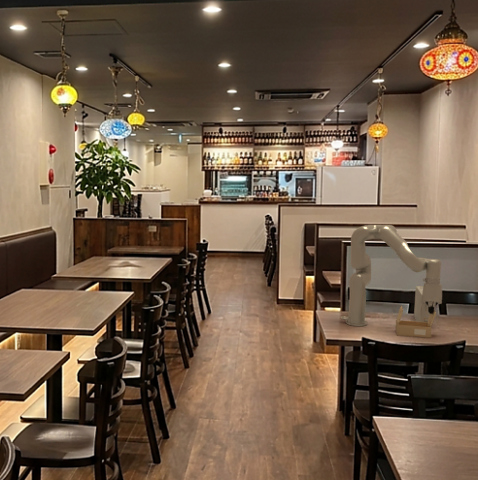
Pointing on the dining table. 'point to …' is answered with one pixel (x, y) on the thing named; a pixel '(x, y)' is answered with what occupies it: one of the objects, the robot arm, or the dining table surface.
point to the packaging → (420, 306)
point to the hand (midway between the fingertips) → (430, 313)
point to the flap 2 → (431, 318)
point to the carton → (413, 329)
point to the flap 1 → (399, 314)
